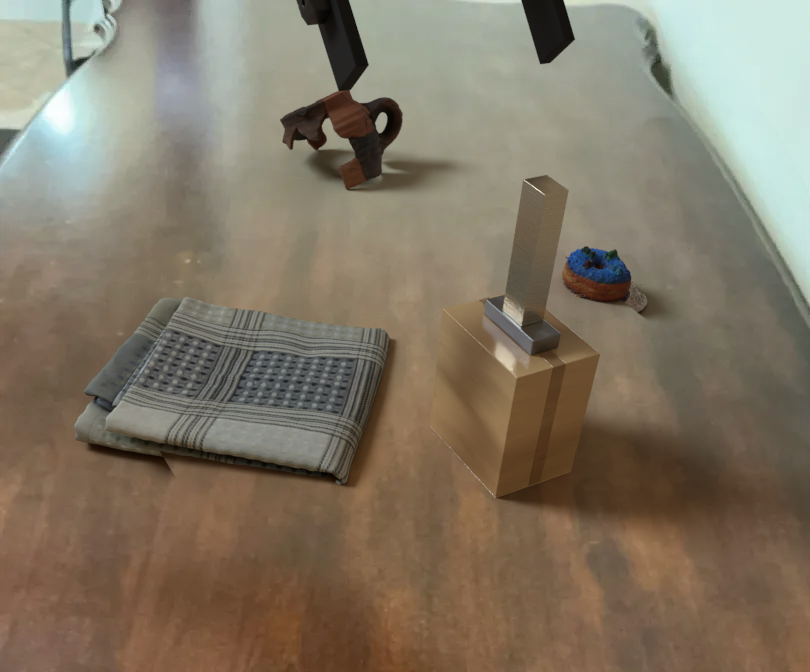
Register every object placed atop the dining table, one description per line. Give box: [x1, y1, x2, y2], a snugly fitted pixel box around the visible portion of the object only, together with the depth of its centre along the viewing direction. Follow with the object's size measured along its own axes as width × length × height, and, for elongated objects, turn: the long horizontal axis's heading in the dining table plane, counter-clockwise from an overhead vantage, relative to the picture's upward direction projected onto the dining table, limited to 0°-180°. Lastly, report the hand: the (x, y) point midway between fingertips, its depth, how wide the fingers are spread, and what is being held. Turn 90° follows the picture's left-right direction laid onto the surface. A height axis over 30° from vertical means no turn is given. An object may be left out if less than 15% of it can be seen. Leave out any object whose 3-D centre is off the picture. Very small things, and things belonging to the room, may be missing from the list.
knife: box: [484, 174, 570, 355], centre depth 58 cm, size 5×2×18 cm, turn 30°
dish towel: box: [73, 296, 391, 486], centre depth 67 cm, size 19×18×3 cm
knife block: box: [429, 293, 601, 499], centre depth 61 cm, size 8×6×10 cm
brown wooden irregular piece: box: [279, 90, 404, 190], centre depth 95 cm, size 12×10×8 cm
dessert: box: [561, 245, 648, 314], centre depth 81 cm, size 8×7×6 cm
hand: (460, 65), depth 55 cm, fingers open, 13 cm apart
